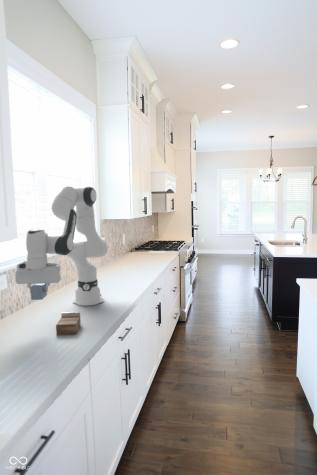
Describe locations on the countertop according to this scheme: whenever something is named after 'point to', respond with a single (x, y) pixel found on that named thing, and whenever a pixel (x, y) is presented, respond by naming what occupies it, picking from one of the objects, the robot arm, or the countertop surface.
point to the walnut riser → (68, 323)
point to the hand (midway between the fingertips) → (39, 292)
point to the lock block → (38, 291)
